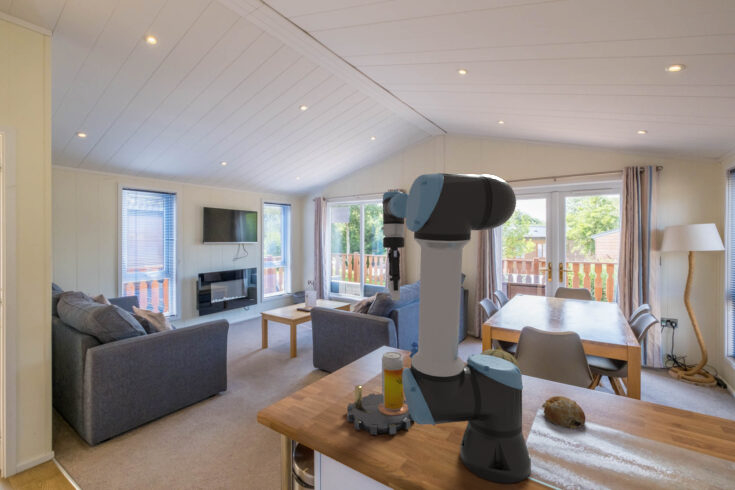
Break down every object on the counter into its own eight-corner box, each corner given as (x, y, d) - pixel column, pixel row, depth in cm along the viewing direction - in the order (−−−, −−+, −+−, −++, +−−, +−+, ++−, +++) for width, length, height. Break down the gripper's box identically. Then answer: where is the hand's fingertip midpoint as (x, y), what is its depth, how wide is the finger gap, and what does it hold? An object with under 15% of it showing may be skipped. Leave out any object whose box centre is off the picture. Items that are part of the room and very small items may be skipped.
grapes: (427, 377, 124) (426, 345, 124) (408, 377, 126) (408, 344, 125) (426, 366, 136) (426, 336, 136) (409, 365, 137) (409, 335, 137)
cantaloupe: (476, 403, 105) (476, 355, 105) (471, 383, 120) (470, 341, 119) (527, 406, 102) (527, 357, 102) (515, 386, 117) (515, 342, 117)
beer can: (406, 410, 95) (406, 357, 95) (386, 413, 93) (385, 359, 93) (399, 400, 101) (398, 350, 101) (379, 403, 99) (379, 352, 99)
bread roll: (557, 441, 91) (568, 421, 88) (532, 408, 100) (540, 389, 96) (586, 435, 94) (598, 415, 90) (559, 404, 102) (568, 385, 99)
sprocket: (418, 403, 104) (418, 376, 104) (411, 440, 85) (410, 407, 85) (357, 397, 109) (357, 371, 109) (337, 430, 90) (337, 399, 90)
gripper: (382, 236, 131) (382, 291, 132) (384, 236, 106) (384, 303, 107) (401, 236, 131) (401, 291, 132) (408, 236, 106) (408, 303, 107)
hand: (394, 296), depth 119 cm, fingers open, 13 cm apart
